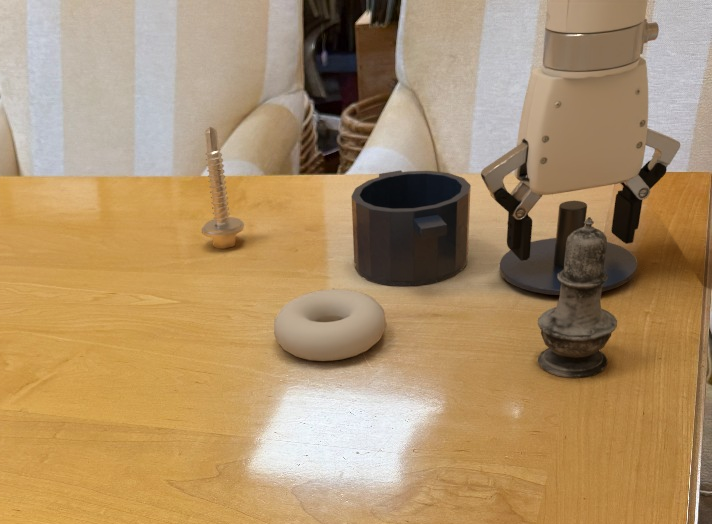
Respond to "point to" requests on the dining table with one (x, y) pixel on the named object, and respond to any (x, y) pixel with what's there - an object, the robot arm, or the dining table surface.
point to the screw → (219, 198)
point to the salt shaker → (578, 310)
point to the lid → (563, 257)
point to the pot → (411, 227)
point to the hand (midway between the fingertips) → (570, 246)
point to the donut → (329, 324)
